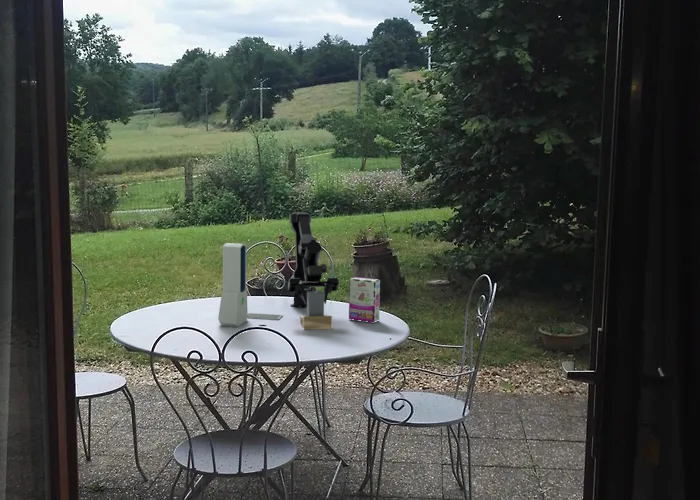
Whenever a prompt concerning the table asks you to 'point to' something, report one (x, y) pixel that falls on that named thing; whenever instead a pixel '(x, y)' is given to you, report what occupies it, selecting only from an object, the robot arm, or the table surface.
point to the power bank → (315, 303)
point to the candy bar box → (364, 299)
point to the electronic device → (233, 286)
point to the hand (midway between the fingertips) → (315, 303)
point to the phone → (264, 316)
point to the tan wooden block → (315, 322)
